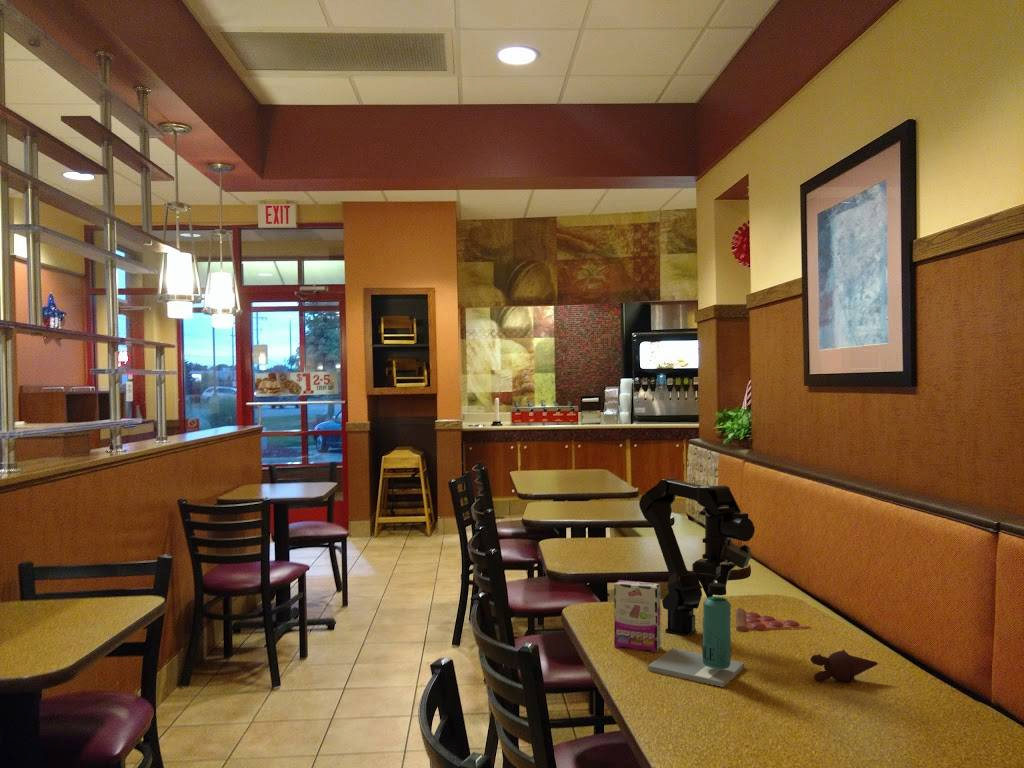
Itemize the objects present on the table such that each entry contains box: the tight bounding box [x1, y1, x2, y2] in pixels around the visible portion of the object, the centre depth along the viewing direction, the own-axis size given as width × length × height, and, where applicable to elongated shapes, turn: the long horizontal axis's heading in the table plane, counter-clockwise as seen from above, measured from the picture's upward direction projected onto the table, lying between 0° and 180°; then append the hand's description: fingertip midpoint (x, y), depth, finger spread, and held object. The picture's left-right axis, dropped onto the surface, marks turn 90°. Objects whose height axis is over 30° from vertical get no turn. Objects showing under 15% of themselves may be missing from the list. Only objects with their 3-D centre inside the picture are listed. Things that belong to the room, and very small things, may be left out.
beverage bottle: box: [701, 582, 732, 669], centre depth 177 cm, size 6×7×20 cm
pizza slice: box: [735, 607, 812, 632], centre depth 217 cm, size 18×2×20 cm
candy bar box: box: [613, 579, 662, 653], centre depth 197 cm, size 11×5×16 cm, turn 68°
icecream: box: [810, 649, 879, 683], centre depth 176 cm, size 7×7×15 cm
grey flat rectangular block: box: [647, 647, 745, 688], centre depth 182 cm, size 18×15×1 cm
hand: (716, 595), depth 199 cm, fingers open, 9 cm apart
